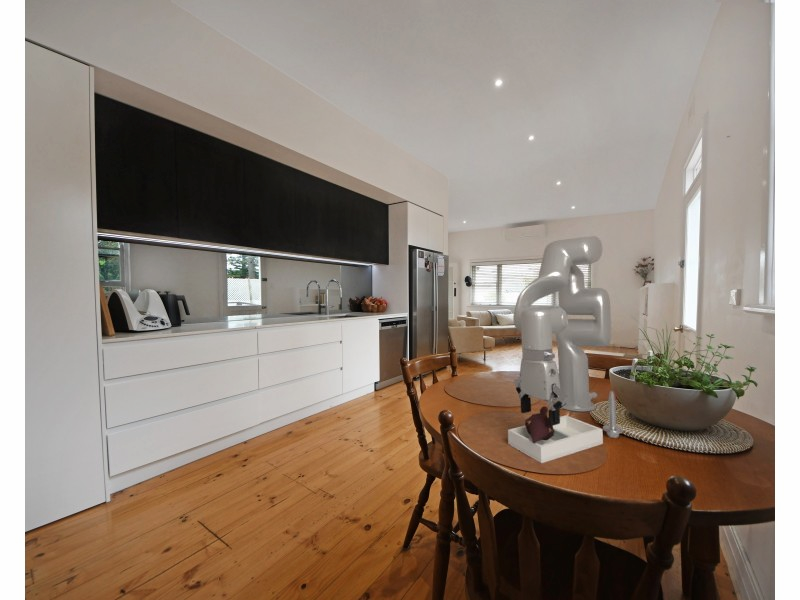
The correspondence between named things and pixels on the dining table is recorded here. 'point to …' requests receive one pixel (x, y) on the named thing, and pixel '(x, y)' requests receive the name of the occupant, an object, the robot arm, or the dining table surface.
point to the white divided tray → (557, 440)
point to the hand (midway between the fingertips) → (539, 418)
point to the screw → (612, 418)
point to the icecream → (539, 426)
